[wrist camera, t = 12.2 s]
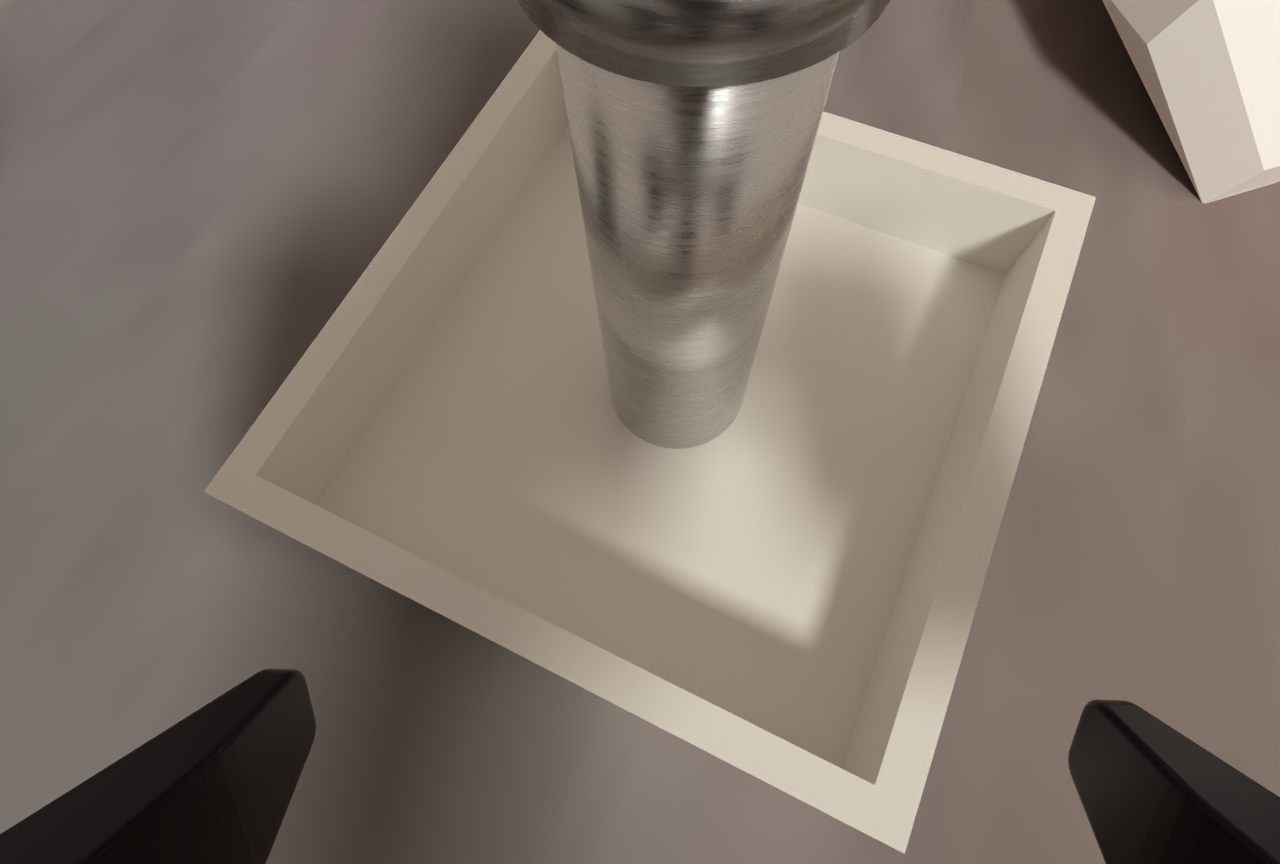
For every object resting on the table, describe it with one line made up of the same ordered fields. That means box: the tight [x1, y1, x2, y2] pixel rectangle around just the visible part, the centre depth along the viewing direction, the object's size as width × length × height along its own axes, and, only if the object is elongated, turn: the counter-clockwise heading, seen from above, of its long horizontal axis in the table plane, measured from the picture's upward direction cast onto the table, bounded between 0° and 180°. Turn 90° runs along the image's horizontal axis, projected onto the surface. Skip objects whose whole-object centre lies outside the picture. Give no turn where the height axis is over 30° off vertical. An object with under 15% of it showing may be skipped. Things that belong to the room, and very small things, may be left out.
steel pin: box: [518, 0, 890, 449], centre depth 13 cm, size 4×4×12 cm
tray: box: [204, 30, 1096, 854], centre depth 17 cm, size 16×16×4 cm
